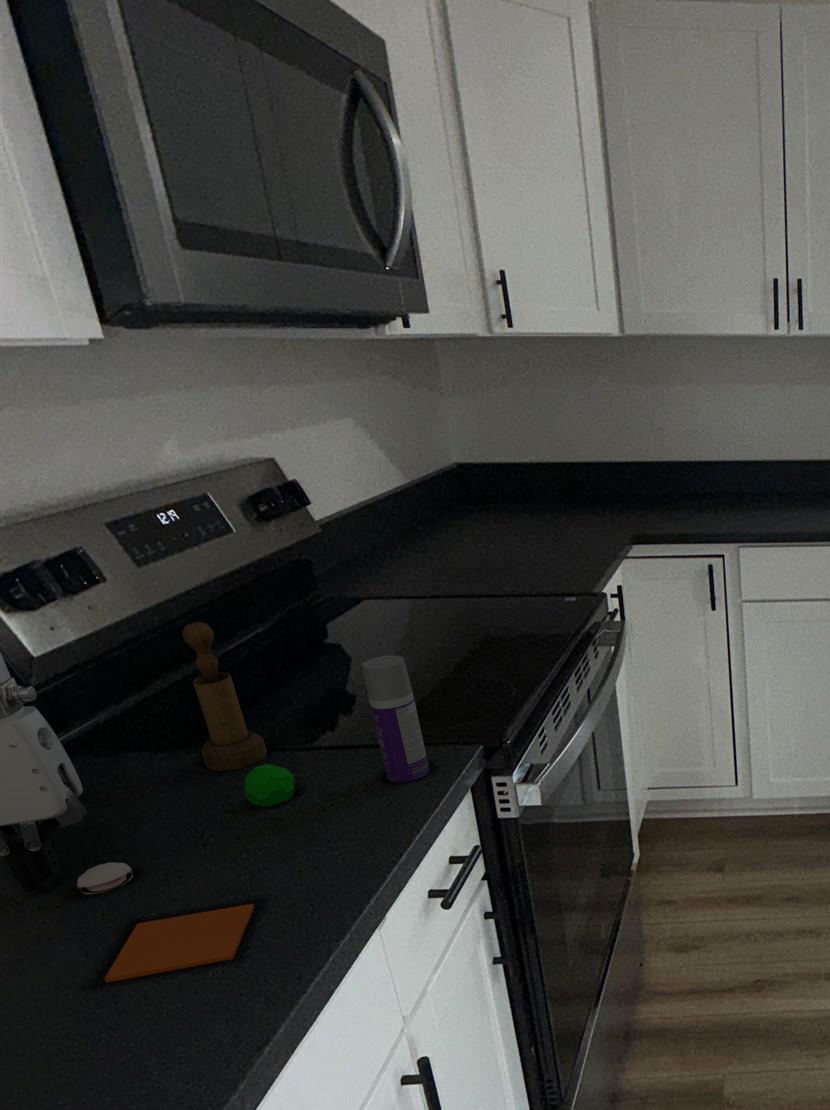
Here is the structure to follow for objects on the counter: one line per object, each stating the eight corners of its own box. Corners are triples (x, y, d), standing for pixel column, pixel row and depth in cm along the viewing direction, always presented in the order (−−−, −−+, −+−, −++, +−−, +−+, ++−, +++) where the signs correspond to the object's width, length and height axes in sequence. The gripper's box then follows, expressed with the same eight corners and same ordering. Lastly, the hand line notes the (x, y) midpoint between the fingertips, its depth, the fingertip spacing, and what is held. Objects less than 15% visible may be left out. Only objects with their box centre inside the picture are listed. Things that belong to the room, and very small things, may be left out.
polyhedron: (300, 808, 105) (289, 770, 103) (250, 819, 103) (237, 781, 101) (299, 790, 109) (288, 754, 107) (250, 800, 107) (238, 763, 105)
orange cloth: (98, 992, 76) (94, 982, 76) (135, 930, 84) (131, 921, 84) (237, 966, 80) (233, 956, 79) (260, 909, 87) (257, 899, 87)
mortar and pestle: (221, 776, 113) (175, 635, 105) (196, 763, 116) (150, 626, 108) (277, 756, 118) (237, 620, 110) (251, 744, 121) (211, 612, 113)
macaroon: (85, 905, 88) (76, 883, 87) (76, 885, 91) (67, 863, 90) (140, 887, 91) (131, 865, 90) (129, 868, 94) (120, 847, 93)
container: (379, 783, 111) (350, 665, 105) (409, 767, 115) (384, 653, 109) (409, 789, 109) (381, 671, 103) (439, 773, 113) (414, 657, 107)
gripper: (81, 681, 86) (146, 848, 94) (-120, 702, 82) (-35, 877, 90) (47, 710, 80) (120, 887, 88) (-173, 735, 75) (-76, 920, 83)
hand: (42, 882), depth 89 cm, fingers closed
